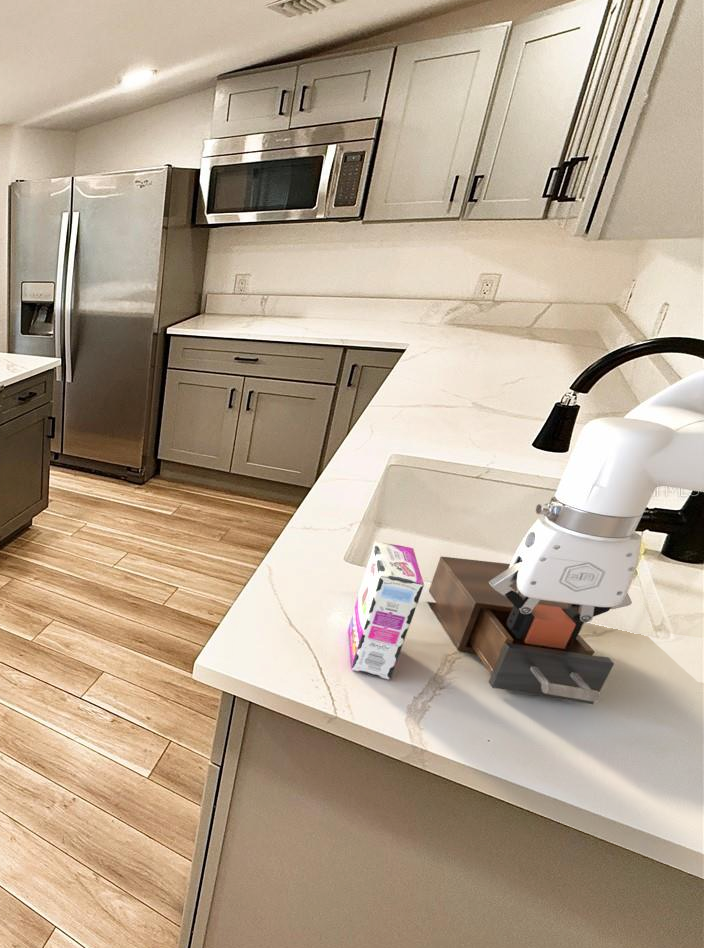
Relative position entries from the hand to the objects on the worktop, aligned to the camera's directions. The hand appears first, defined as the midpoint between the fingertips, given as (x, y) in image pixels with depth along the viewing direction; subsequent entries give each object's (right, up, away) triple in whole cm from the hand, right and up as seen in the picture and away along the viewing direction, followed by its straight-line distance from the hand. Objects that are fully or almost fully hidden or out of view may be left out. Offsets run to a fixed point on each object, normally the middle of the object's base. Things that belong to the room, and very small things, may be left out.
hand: (538, 635), depth 83 cm
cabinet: (+4, -2, +12) cm, 13 cm away
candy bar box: (-16, -5, +9) cm, 19 cm away
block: (0, 0, 0) cm, 0 cm away
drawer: (0, -6, +1) cm, 6 cm away
